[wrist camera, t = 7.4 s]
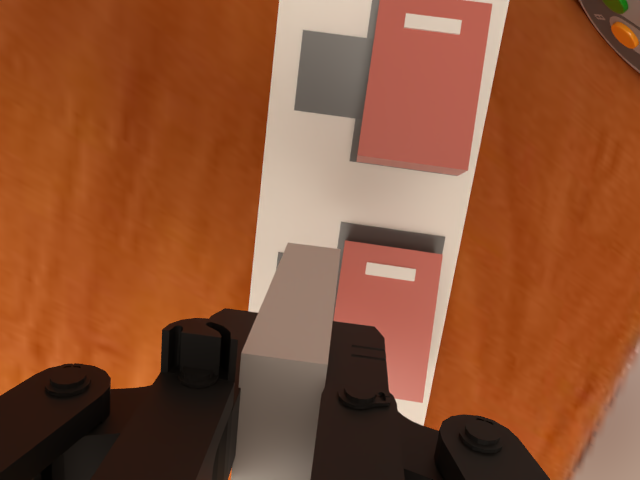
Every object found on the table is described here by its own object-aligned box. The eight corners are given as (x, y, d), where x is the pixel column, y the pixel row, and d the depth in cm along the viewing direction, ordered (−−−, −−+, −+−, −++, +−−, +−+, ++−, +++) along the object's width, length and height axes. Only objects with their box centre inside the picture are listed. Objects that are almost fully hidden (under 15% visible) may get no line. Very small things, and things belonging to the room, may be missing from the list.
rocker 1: (378, 9, 22) (381, -12, 20) (480, 22, 22) (493, 2, 20) (356, 161, 22) (357, 154, 21) (458, 175, 22) (468, 170, 20)
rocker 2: (344, 242, 25) (345, 240, 23) (435, 255, 25) (443, 254, 23) (325, 378, 25) (323, 387, 23) (416, 393, 25) (423, 403, 23)
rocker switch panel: (296, -32, 26) (281, -56, 22) (492, -8, 26) (518, -27, 21) (242, 479, 34) (223, 540, 29) (393, 504, 34) (397, 570, 29)
